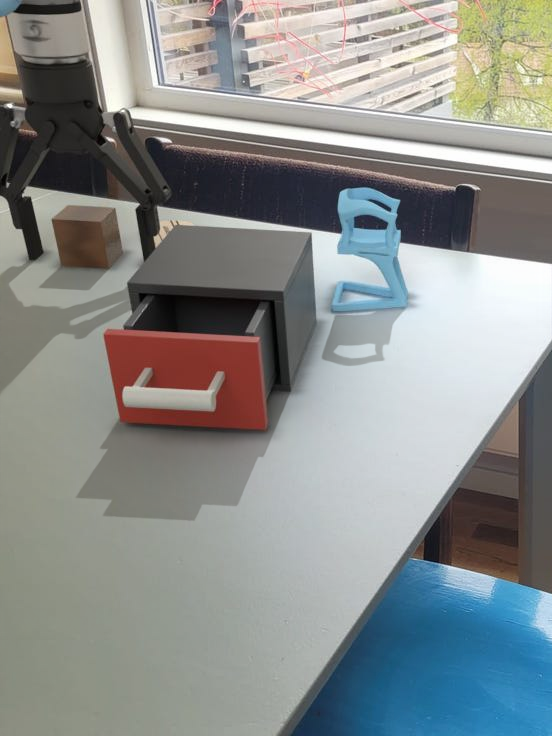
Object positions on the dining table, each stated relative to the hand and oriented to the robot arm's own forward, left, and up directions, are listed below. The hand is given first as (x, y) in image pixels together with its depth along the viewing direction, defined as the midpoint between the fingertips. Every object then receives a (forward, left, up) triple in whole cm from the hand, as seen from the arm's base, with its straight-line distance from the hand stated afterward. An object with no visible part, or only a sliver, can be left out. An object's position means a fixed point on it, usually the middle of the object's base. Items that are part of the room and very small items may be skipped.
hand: (94, 260), depth 119 cm
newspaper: (+11, +3, 0) cm, 11 cm away
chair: (+35, -2, 0) cm, 35 cm away
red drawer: (+28, -33, +1) cm, 43 cm away
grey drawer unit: (+26, -20, 0) cm, 33 cm away
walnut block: (0, 0, 0) cm, 0 cm away
